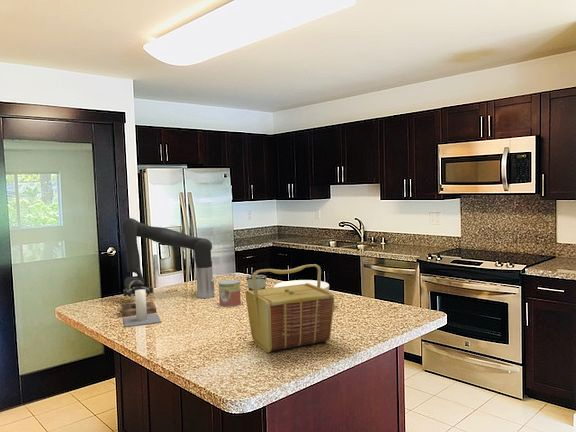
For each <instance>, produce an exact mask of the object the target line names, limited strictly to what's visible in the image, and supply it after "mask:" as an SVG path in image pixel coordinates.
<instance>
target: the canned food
mask: <svg viewBox="0 0 576 432" xmlns="http://www.w3.org/2000/svg"><path fill="white" fill-rule="evenodd" d="M240 282H241V281H240V280H239V279H238V280H237V279H224V280H221V281H219V282H218V296H219V307H223V308H224V307H225V308H230V307H233V308H234V307H236V306H237V307H238V306H240V305H241V304H242V303H241V301H242V300H241V283H240Z"/></svg>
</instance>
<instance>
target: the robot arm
mask: <svg viewBox="0 0 576 432" xmlns="http://www.w3.org/2000/svg"><path fill="white" fill-rule="evenodd" d="M121 228H122V232H123V236H124V242H125V252H126V269H127V272H128V273H133V274H136V276H127V277H126V278H125V279H124V287H125V288H123V297H129V298H131V297H132V296H133V297H135V290H140V289H145V290H146V296H149V295H150V294H154V287H153V286H151V285H150V286H148V287H147V286H145V279H144V276H143V273H142V269H141V259H140V258H141V257H140V251H139V246H138V237H139V238H144V239H148V240H150V241H152V242H155V243H159V244H160V245H161V244H162V245H164V246H169V247H174V248H184V249H189V250H193V251H194V263H195V270H196V271H195V274H196V275H195V276H196V296H197V298H199V299H209V298H212V297H215V281H214V280H215V279H214V278H213V275H214V273H213V260H212V249H213V243H212V242H211V240H209V239H208V238H203V237H199V236H198V237H197V236H192V235H189V234H185V233H183V232H180V231H177V230H174V229H170V228H166V227H163V226H162V227H160V226H152V225H148V224H145V223H142V222H140V221H138V220H136V219H135V218H131V217H129V218H126V219H125V220H124V221H123V222H122V225H121Z"/></svg>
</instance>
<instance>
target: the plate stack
mask: <svg viewBox="0 0 576 432" xmlns="http://www.w3.org/2000/svg"><path fill="white" fill-rule="evenodd" d="M306 283H309V284H312V285H315V286H317V280H313V279H297V280H296V279H294V280H288V281H281V282H278V283H276V284H274V285H273V288H276V287H284V286H292V285H300V284H306ZM320 288H322V289H325V290H328V291H330V284H329V283H328V282H326V281H322V280H321V283H320Z"/></svg>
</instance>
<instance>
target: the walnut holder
mask: <svg viewBox="0 0 576 432" xmlns="http://www.w3.org/2000/svg"><path fill="white" fill-rule="evenodd" d="M120 306H121V314H122V317H123V318H125V317H133V316H136V302H134V303H127V304H126V303H125V304H121V305H120ZM146 308H147V315H149V314H157V307H156V305H155V303H154V300H153V301H146Z"/></svg>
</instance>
